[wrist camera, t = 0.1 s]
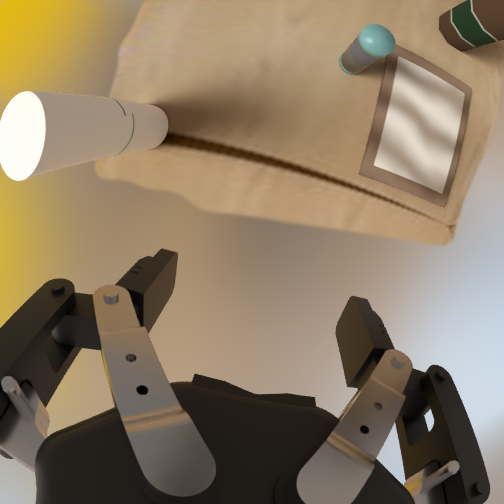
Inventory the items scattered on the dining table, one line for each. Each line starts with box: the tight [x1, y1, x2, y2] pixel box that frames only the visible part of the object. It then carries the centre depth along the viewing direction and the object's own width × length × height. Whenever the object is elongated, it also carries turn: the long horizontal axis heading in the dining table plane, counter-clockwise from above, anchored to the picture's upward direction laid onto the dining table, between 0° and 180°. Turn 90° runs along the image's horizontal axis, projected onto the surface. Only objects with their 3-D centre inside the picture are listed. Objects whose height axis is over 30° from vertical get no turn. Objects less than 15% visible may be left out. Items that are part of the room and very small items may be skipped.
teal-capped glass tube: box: [339, 24, 396, 75], centre depth 25 cm, size 4×4×12 cm
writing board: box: [359, 45, 471, 208], centre depth 32 cm, size 22×16×1 cm
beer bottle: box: [439, 0, 504, 51], centre depth 14 cm, size 8×8×24 cm
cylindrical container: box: [0, 91, 168, 181], centre depth 25 cm, size 7×7×25 cm
